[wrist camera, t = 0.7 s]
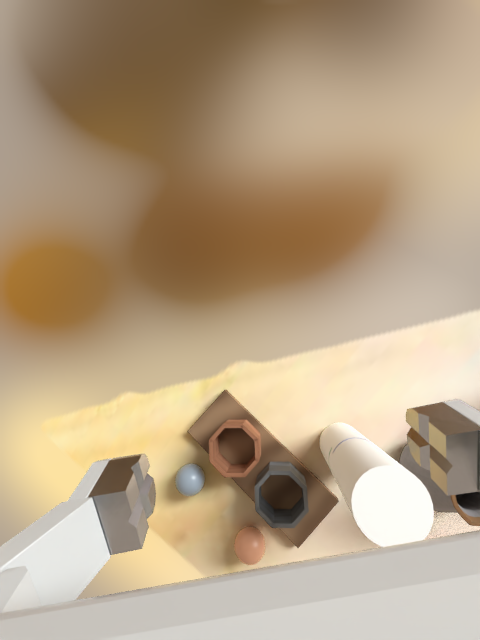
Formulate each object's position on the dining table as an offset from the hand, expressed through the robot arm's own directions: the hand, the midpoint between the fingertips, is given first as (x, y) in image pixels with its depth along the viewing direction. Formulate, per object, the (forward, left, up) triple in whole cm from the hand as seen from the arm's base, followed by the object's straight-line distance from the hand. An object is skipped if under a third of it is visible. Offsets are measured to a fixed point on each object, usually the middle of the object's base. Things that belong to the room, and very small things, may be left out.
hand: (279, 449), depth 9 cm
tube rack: (-6, +13, -47) cm, 49 cm away
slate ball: (+1, +23, -44) cm, 50 cm away
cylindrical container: (-14, +1, -47) cm, 49 cm away
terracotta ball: (-13, +23, -44) cm, 52 cm away
